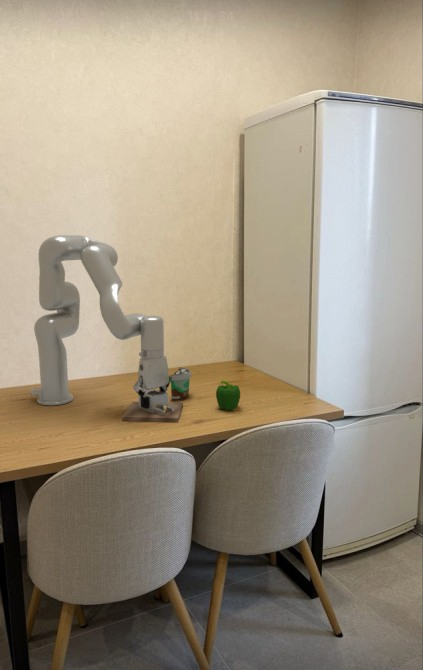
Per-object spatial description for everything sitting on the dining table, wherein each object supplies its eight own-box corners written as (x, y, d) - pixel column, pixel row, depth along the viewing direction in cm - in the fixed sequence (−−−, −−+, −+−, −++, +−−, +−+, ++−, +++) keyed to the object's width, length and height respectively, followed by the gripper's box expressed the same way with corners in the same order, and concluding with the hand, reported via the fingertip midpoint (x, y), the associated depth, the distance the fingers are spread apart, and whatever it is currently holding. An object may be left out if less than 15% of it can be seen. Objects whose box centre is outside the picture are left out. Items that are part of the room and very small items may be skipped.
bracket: (138, 408, 177) (138, 393, 176) (154, 404, 182) (154, 388, 181) (160, 416, 170) (160, 400, 169) (176, 411, 175) (176, 395, 174)
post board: (122, 421, 170) (121, 402, 169) (132, 405, 186) (131, 387, 185) (178, 422, 170) (177, 402, 168) (183, 406, 185) (182, 388, 184)
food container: (187, 403, 189) (186, 376, 187) (170, 401, 190) (170, 375, 188) (195, 393, 201) (194, 367, 199) (179, 392, 202) (179, 366, 200)
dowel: (162, 413, 173) (162, 406, 173) (163, 412, 175) (163, 405, 174) (166, 413, 173) (166, 406, 173) (167, 412, 175) (166, 405, 174)
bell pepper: (245, 407, 184) (245, 379, 182) (232, 414, 177) (232, 385, 176) (224, 403, 189) (224, 376, 187) (211, 409, 182) (211, 381, 180)
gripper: (139, 359, 165) (140, 413, 169) (179, 350, 178) (179, 401, 181) (124, 355, 170) (125, 408, 174) (164, 347, 183) (165, 396, 186)
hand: (153, 404), depth 177 cm, fingers closed on bracket, 7 cm apart
